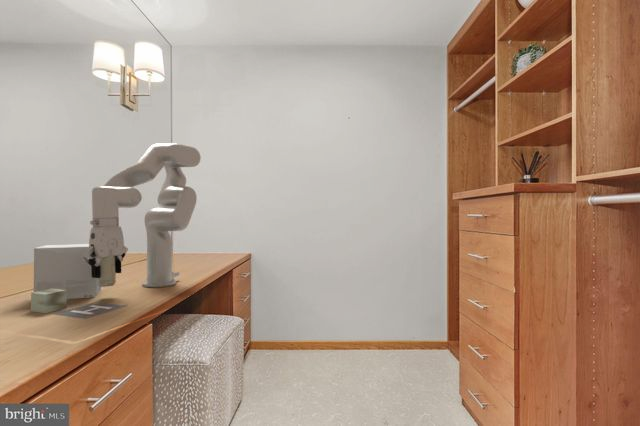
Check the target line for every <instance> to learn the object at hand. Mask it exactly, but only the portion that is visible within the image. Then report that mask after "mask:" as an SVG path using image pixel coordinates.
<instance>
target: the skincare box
mask: <svg viewBox="0 0 640 426" xmlns="http://www.w3.org/2000/svg"><path fill="white" fill-rule="evenodd" d="M98 266H100V267H101V277H100V278H99V287H101V288H105V287H113V286H114V285H115V284H116V282H117V280H116V279H117V277H116V276H117V275H116V274H117V273H116V271H115V256H113V250H109V257H107V258H102V259H101V261H100V263H99V265H98Z"/></svg>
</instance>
